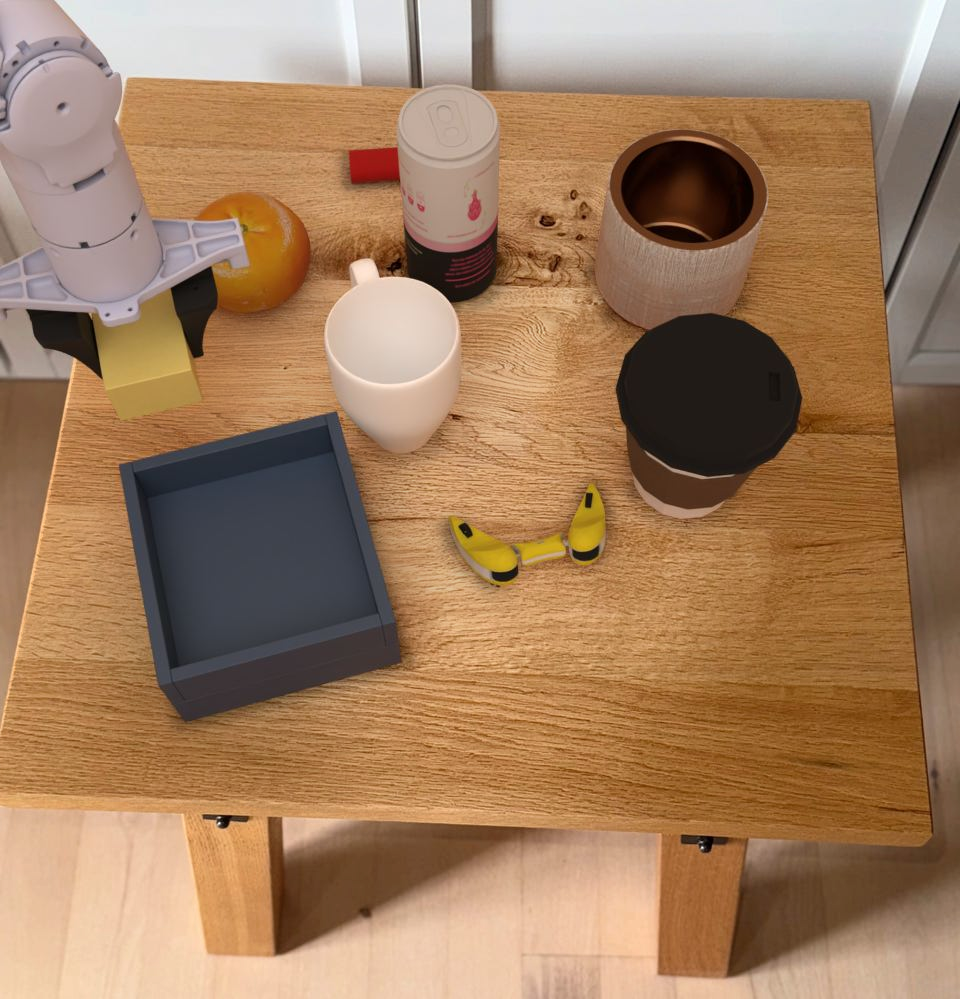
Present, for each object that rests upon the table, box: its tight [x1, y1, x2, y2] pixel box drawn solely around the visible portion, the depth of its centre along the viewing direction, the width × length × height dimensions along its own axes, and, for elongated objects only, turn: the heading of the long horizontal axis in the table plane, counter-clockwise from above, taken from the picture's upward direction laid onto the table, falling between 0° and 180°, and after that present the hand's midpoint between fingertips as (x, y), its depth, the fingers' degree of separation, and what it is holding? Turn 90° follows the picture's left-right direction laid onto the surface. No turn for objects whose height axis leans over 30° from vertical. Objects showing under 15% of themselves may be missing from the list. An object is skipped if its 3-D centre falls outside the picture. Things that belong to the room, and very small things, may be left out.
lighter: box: [348, 147, 400, 184], centre depth 92 cm, size 3×1×8 cm
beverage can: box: [395, 83, 501, 304], centre depth 82 cm, size 6×6×15 cm
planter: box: [594, 128, 769, 331], centre depth 84 cm, size 11×11×10 cm
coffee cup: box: [615, 313, 803, 520], centre depth 75 cm, size 11×11×12 cm
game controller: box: [448, 481, 607, 589], centre depth 77 cm, size 10×6×4 cm, turn 106°
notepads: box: [90, 288, 204, 422], centre depth 72 cm, size 5×8×4 cm, turn 16°
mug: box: [323, 257, 462, 454], centre depth 78 cm, size 12×8×11 cm
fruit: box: [193, 190, 312, 314], centre depth 85 cm, size 8×8×8 cm
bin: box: [118, 410, 403, 723], centre depth 74 cm, size 14×15×7 cm
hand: (149, 355), depth 73 cm, fingers closed on notepads, 5 cm apart
